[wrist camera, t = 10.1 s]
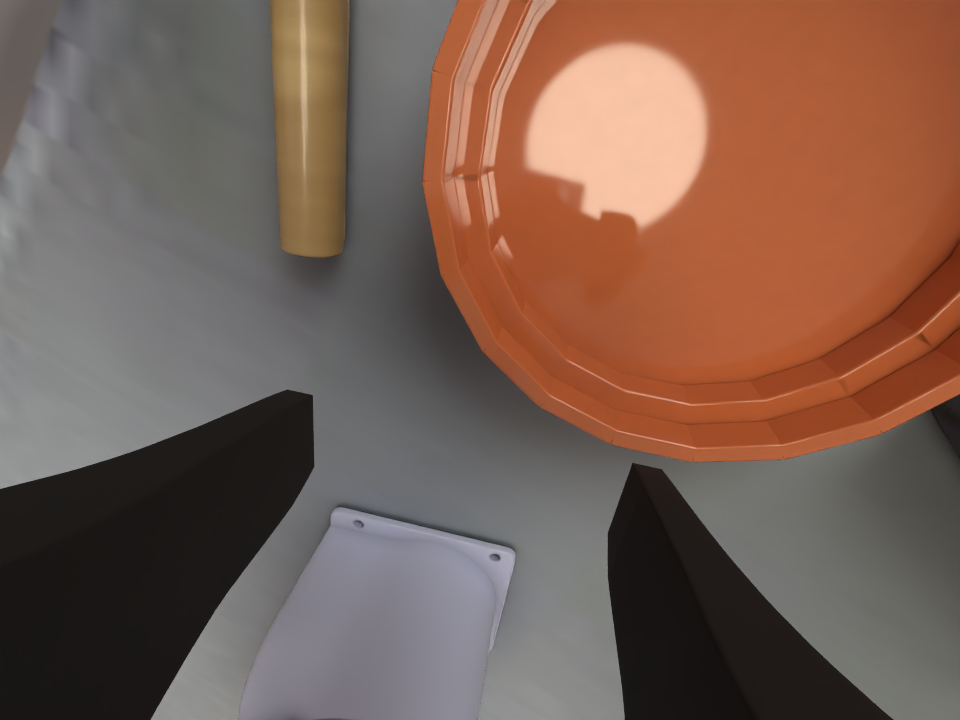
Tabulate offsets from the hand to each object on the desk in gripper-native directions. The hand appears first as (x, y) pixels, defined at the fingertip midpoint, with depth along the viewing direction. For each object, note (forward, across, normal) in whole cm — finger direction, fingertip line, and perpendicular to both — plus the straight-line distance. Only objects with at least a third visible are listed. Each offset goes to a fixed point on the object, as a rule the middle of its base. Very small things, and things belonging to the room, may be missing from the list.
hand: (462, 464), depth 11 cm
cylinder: (+9, +7, -7) cm, 13 cm away
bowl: (+9, -6, -6) cm, 12 cm away
